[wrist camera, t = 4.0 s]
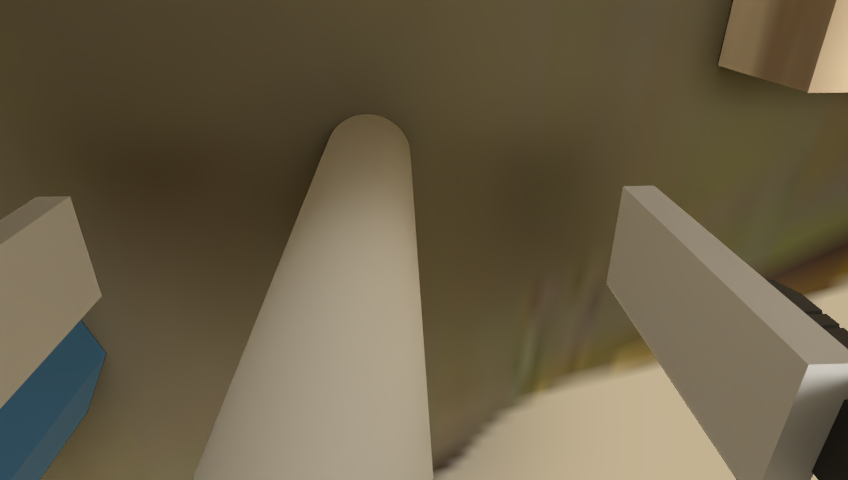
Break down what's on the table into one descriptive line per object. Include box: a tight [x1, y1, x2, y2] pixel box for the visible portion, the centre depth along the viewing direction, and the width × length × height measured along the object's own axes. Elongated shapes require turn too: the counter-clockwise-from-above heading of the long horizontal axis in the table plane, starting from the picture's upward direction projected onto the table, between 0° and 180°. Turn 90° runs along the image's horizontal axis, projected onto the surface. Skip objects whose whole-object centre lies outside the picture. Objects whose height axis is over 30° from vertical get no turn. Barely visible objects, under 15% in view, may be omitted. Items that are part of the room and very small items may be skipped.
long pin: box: [192, 114, 433, 480], centre depth 12 cm, size 3×3×16 cm
